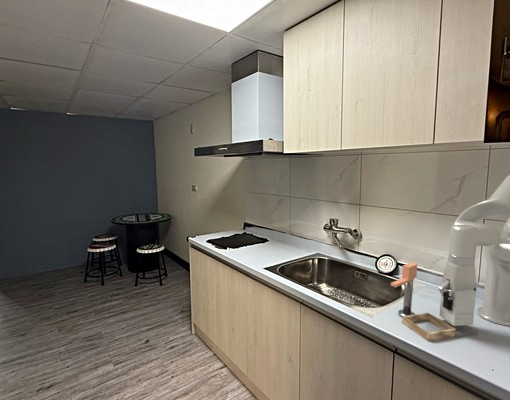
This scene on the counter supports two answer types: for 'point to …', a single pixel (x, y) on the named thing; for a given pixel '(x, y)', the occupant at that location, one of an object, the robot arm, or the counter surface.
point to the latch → (406, 274)
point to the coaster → (462, 330)
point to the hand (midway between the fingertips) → (457, 307)
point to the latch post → (407, 300)
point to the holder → (447, 329)
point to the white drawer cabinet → (460, 308)
